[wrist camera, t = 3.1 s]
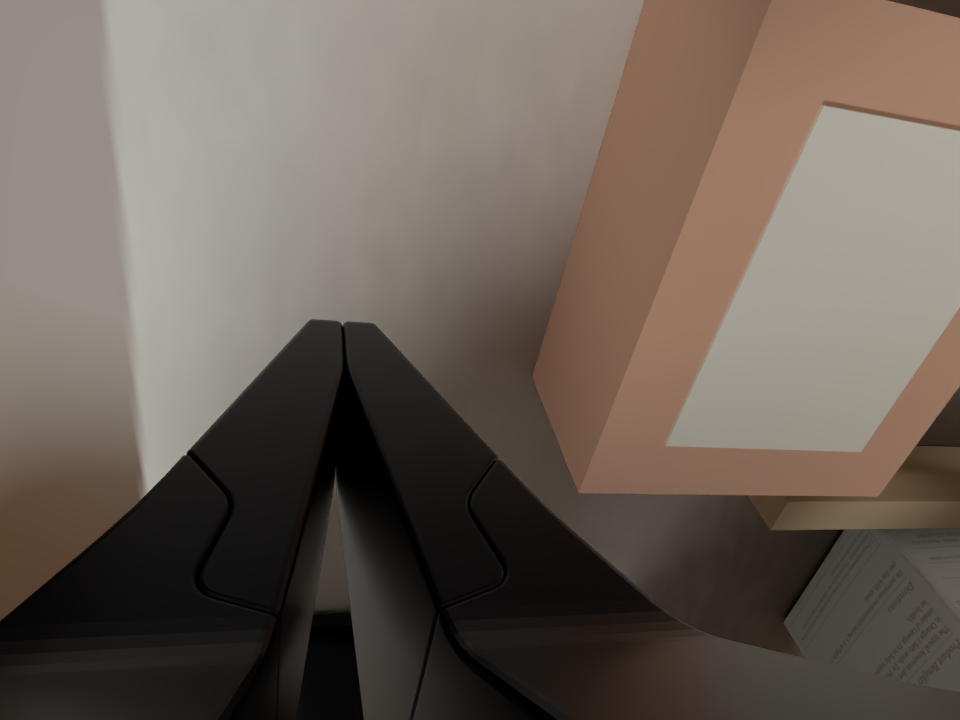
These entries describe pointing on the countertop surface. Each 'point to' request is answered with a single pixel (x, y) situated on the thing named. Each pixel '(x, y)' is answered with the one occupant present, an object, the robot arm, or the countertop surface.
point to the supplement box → (886, 606)
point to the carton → (764, 254)
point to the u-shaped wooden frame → (880, 499)
